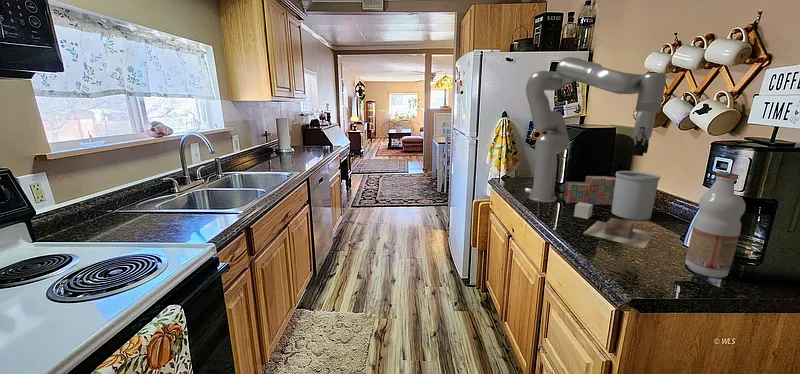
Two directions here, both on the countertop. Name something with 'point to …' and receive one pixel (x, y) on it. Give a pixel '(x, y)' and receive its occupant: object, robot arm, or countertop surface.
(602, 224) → the board
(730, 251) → the fruit juice
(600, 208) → the countertop surface
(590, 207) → the cream block
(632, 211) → the utensil holder
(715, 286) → the countertop surface
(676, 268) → the countertop surface
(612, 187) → the stack of blocks
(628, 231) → the walnut foundation
